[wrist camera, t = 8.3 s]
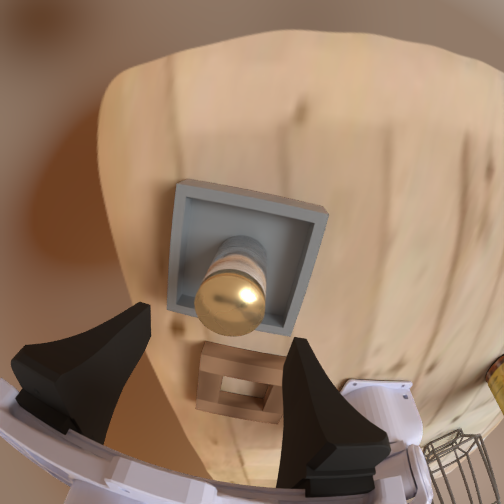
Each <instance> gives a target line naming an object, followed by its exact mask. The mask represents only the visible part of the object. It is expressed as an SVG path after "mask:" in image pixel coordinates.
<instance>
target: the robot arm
mask: <svg viewBox="0 0 504 504" xmlns="http://www.w3.org/2000/svg"><path fill="white" fill-rule="evenodd" d="M150 337H151V310H150V305H149V304H145V303H142V302H139V303H137V304H135V305H133V306H132V307H130V308H129V309H127V310H125V311H124V312H122V313H120V314H119V315H117V316H115V317H114V318H112V319H110V320H108V321H106V322H104V323H103V324H101V325H99V326H97V327H95V328H93V329H91V330H88V331H86V332H84V333H81V334H78V335H75V336H72V337H69V338H65V339H62V340H58V341H54V342H48V343H42V344H32V345H25V346H24V347H23V348H22V349H21V350H20V351H19V352H18V353H17V354H16V355H15V357H14V358H13V359H12V360H11V367H12V370H13V372H14V374H15V376H16V378H17V380H18V381H19V383H20V385H21V387H22V388H23V389H22V390H21V391H20V392H19V391H18V390H17V389H16V388H15V387H14V386H12V385H11V384H9V383H8V382H7V381H6V380H4V379H3V378H0V436H1V437H2V438H3V439H5V440H6V441H7V442H8V443H10V444H11V445H12V446H13V447H14V448H15V449H17V450H18V451H19V452H20V453H22V454H23V455H24V456H26V457H27V458H28V459H30V460H31V461H32V462H34V463H35V464H36V465H38V466H39V467H41V468H42V469H43V470H45V471H46V472H48V473H49V474H51V475H52V476H54V477H56V478H57V479H58V480H60V481H61V482H63V483H65V484H66V485H68V486H70V487H71V488H70V490H69V492H68V495H67V497H66V499H65V502H64V504H407V503H406V500H408V499H410V498H413V497H415V498H414V499H413V500H412V501H411V502H410V503H408V504H431V502H432V498H433V491H432V487H431V478H430V474H429V470H428V466H427V463H426V460H425V457H424V455H423V452H422V450H421V448H420V446H419V444H420V442H421V439H422V434H423V425H422V420H421V418H420V415H419V412H418V410H417V407H416V404H415V402H414V399H413V397H412V394H411V392H410V388H411V386H412V382H410V381H371V380H354V379H350V380H348V381H347V382H346V383H345V385H344V386H343V388H342V390H341V391H340V392H339V391H338V390H337V389H336V387H335V386H334V385H333V383H332V382H331V381H330V379H329V378H328V376H327V375H326V373H325V371H324V370H323V368H322V366H321V365H320V363H319V361H318V360H317V358H316V356H315V354H314V352H313V350H312V349H311V347H310V345H309V343H308V341H307V339H304V338H298V337H294V339H293V342H292V344H291V347H290V350H289V352H288V355H287V357H286V360H285V362H284V365H283V375H282V395H283V415H284V428H283V440H282V450H281V459H280V466H279V473H278V479H277V485H276V488H267V487H256V486H248V485H240V484H233V483H227V482H221V481H215V480H210V479H205V478H200V477H196V476H192V475H188V474H184V473H180V472H176V471H173V470H169V469H165V468H162V467H159V466H156V465H153V464H150V463H147V462H144V461H141V460H138V459H135V458H133V457H130V456H127V455H125V454H122V453H120V452H118V451H115V450H113V449H110V448H108V447H106V446H104V445H103V444H104V441H105V437H106V433H107V430H108V427H109V423H110V420H111V418H112V415H113V412H114V409H115V407H116V404H117V401H118V399H119V396H120V394H121V392H122V389H123V387H124V385H125V383H126V381H127V380H128V378H129V377H130V375H131V373H132V371H133V370H134V368H135V366H136V365H137V363H138V361H139V360H140V358H141V356H142V354H143V353H144V351H145V349H146V347H147V344H148V342H149V339H150Z"/></svg>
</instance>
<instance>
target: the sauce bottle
mask: <svg viewBox="0 0 504 504" xmlns="http://www.w3.org/2000/svg"><path fill="white" fill-rule="evenodd" d="M486 381H487V383H488V386H489V388H490V390H491V392H492V394H493V395H494V397H495V399H496V401H497V403H498V405H499V407H500V409H501V411H502V413H503V415H504V356H501V357H500V358H498V359H497V361H496V362H495V363H494V364H493V365H492V366H491V368H490V369H489V371H488V372H487V374H486Z"/></svg>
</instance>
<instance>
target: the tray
mask: <svg viewBox="0 0 504 504" xmlns="http://www.w3.org/2000/svg"><path fill="white" fill-rule="evenodd" d="M328 217H329V214H328V213H327V211H326V210H325V208H324V207H323V206H319V205H315V204H311V203H307V202H302V201H298V200H294V199H289V198H285V197H280V196H276V195H271V194H266V193H262V192H257V191H252V190H247V189H242V188H237V187H232V186H226V185H221V184H215V183H210V182H204V181H198V180H192V179H186V180H183V181H181V182H179V183H177V185H176V193H175V201H174V210H173V220H172V230H171V242H170V255H169V270H168V290H167V310H169V311H173V312H177V313H181V314H185V315H189V316H193V317H197V318H198V316H197V314H196V311H195V306H194V301H195V296H196V293H197V291H198V289H199V287H200V285H201V283H202V281H203V279H204V277H205V275H206V273H207V271H208V269H209V267H210V265H211V263H212V261H213V259H214V257H215V255H216V253H217V251H218V249H219V247H220V246H221V244H222V243H223V242H224V241H225V240H227V239H228V238H230V237H233V236H238V235H244V236H249V237H252V238H254V239H256V240H257V241H258V242H260V243H261V244H262V246H263V247H264V249H265V251H266V253H267V281H266V300H265V314H264V318H263V320H262V322H261V323H260V325H259V326H258V327H257V328H256V329H255V330H257V331H262V332H267V333H272V334H278V335H284V336H289V337H290V336H291V333H292V331H293V328H294V325H295V322H296V319H297V316H298V314H299V311H300V308H301V305H302V302H303V299H304V296H305V293H306V290H307V287H308V283H309V280H310V277H311V274H312V271H313V268H314V264H315V261H316V258H317V255H318V251H319V248H320V245H321V241H322V238H323V234H324V231H325V227H326V224H327V220H328Z"/></svg>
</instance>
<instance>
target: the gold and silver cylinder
mask: <svg viewBox="0 0 504 504" xmlns="http://www.w3.org/2000/svg"><path fill="white" fill-rule="evenodd" d="M266 281H267V253H266V251H265V249H264V247H263V246H262V244H261V243H260V242H258V241H257V240H256V239H254V238H252V237H249V236H244V235H238V236H233V237H230V238H228V239H227V240H225V241H224V242H223V243H222V244H221V246H220V247H219V249H218V251H217V253H216V255H215V257H214V259H213V261H212V263H211V265H210V267H209V269H208V271H207V273H206V275H205V277H204V279H203V281H202V283H201V285H200V287H199V289H198V291H197V293H196V296H195V301H194V306H195V311H196V314H197V316H198V318H199V320H200V321H201V322H202V323H203V324H204V325H205V326H206V327H207V328H208V329H210V330H211V331H213V332H215V333H218V334H220V335H224V336H241V335H245V334H248V333H250V332H252V331H253V330H255V329H256V328H257V327H258V326H259V325H260V323H261V322H262V320H263V318H264V314H265V300H266Z"/></svg>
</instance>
